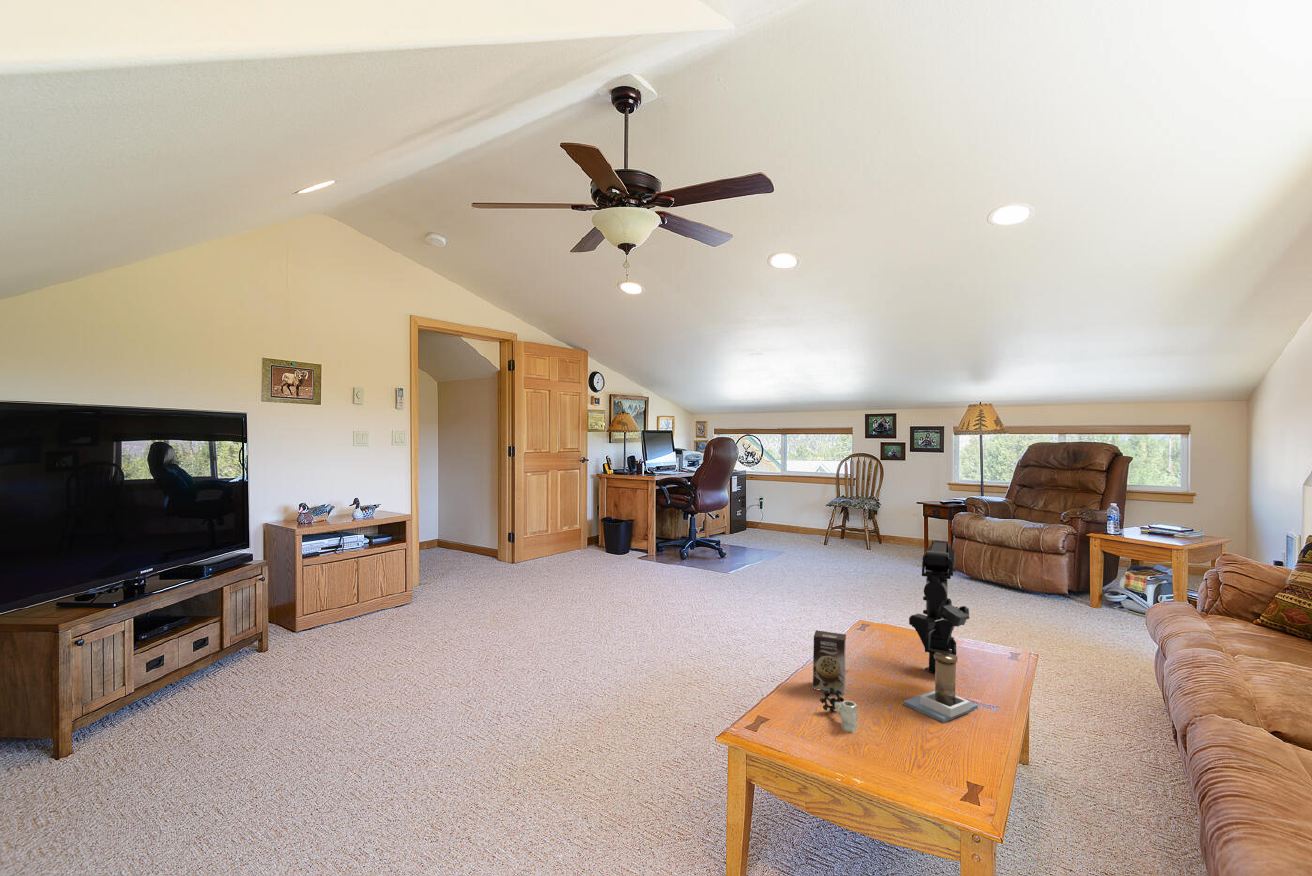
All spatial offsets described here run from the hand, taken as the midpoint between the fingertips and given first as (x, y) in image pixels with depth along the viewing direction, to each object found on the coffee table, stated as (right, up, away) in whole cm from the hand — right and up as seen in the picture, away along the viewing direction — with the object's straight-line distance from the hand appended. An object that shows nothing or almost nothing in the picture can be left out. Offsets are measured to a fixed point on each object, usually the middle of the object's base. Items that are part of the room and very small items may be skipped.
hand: (936, 646), depth 170 cm
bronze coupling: (-4, -12, -13) cm, 18 cm away
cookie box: (-32, -13, +1) cm, 35 cm away
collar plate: (-4, -13, -11) cm, 17 cm away
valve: (-35, -13, -20) cm, 42 cm away
